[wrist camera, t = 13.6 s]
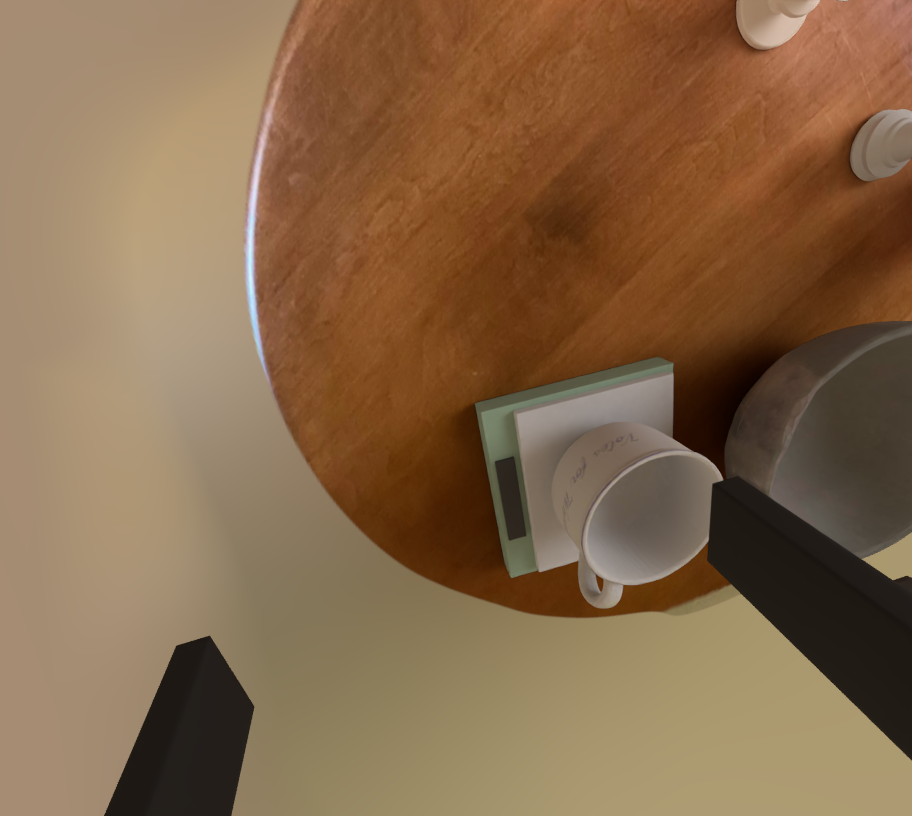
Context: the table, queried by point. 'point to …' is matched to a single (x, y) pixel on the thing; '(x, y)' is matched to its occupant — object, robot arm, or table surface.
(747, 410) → the bowl
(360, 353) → the table surface
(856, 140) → the chess piece
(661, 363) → the scale
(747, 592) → the robot arm
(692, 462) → the teacup
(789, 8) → the candle
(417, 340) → the table surface
